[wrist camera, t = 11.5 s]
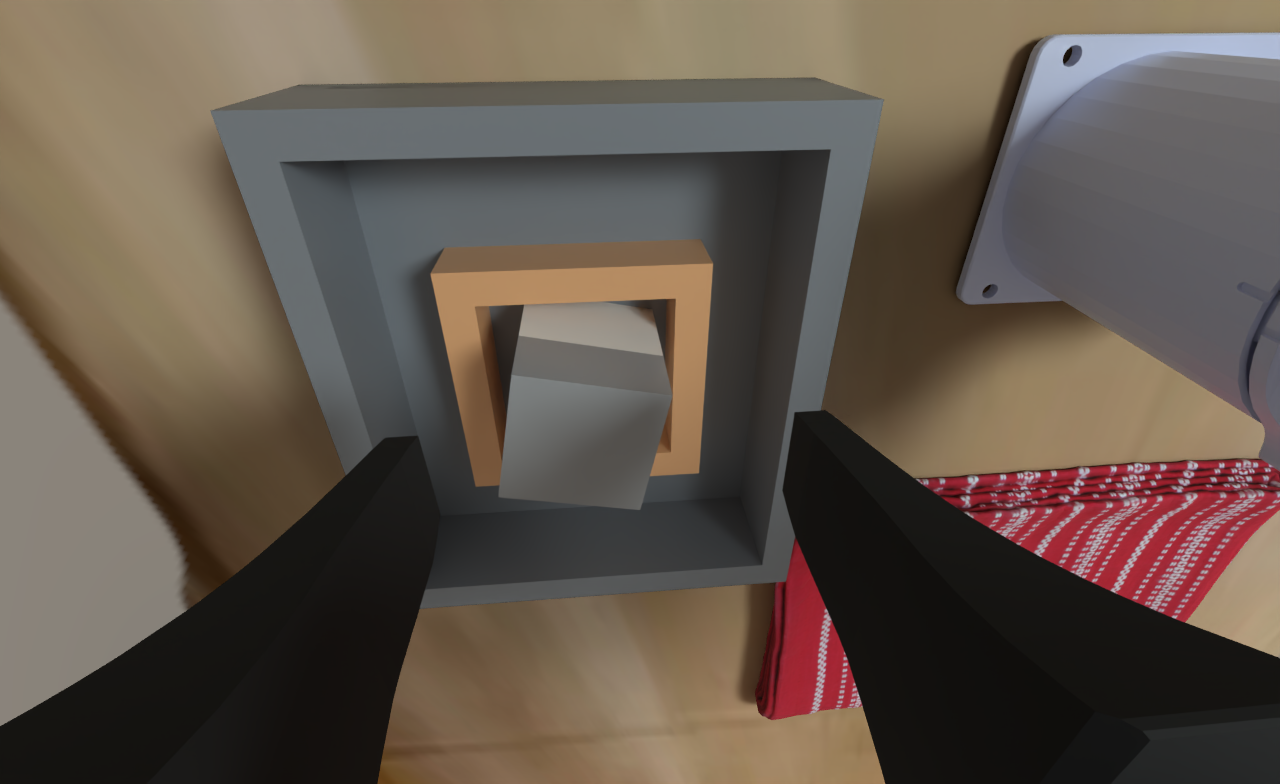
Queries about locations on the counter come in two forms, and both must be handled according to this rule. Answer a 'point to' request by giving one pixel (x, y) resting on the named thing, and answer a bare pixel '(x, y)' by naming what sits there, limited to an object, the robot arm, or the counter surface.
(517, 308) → the box
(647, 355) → the grey block
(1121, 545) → the dish towel
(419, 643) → the counter surface
